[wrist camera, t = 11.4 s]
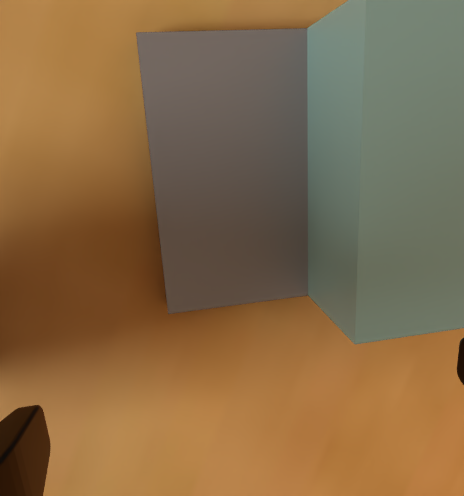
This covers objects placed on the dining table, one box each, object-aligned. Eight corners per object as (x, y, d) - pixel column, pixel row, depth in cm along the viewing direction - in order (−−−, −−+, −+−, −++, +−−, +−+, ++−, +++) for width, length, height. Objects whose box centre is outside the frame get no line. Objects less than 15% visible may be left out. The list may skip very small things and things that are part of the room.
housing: (307, 295, 20) (354, 344, 16) (307, 28, 17) (366, -13, 12) (417, 281, 21) (492, 323, 17) (437, 25, 18) (539, -13, 13)
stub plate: (167, 303, 20) (171, 345, 16) (137, 39, 17) (132, 11, 13) (516, 258, 24) (589, 284, 20) (549, 28, 20) (646, 2, 16)
